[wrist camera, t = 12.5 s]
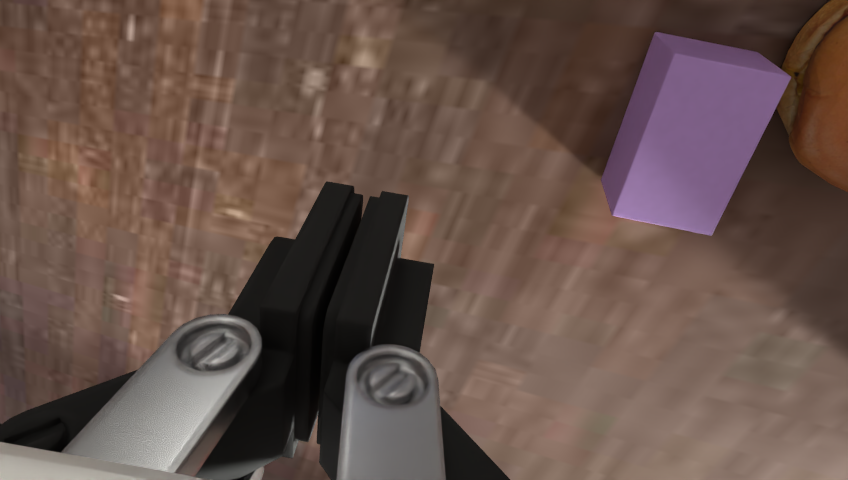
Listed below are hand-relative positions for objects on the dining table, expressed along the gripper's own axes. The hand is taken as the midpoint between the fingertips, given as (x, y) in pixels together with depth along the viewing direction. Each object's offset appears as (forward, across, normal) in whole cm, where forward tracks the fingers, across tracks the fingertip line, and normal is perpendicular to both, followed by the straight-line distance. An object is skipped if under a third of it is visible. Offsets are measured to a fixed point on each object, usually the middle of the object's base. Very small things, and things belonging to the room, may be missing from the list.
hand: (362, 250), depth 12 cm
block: (+20, -12, +3) cm, 24 cm away
